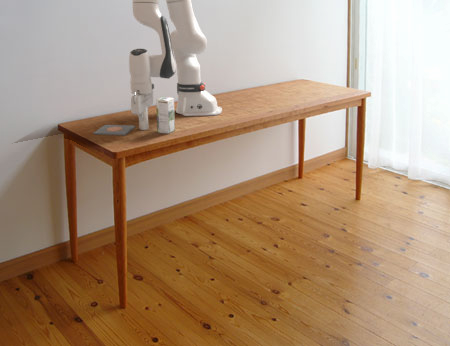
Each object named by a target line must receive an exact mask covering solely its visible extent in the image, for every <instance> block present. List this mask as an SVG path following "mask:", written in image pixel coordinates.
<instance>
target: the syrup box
mask: <svg viewBox="0 0 450 346" xmlns="http://www.w3.org/2000/svg"><path fill="white" fill-rule="evenodd" d="M155 102H156V104H155V105H156V106H155V107H156V108H155V109H156V127H157V133H159V134H171V133H173V132H175V131H176V121H175V120H176V118H175V116H176V115H175V98H174V97H167V96H163V97H159V98H158V99H156V100H155Z"/></svg>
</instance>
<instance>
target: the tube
mask: <svg viewBox="0 0 450 346" xmlns="http://www.w3.org/2000/svg"><path fill="white" fill-rule="evenodd" d="M143 117H144V121H143V122H139V121H138V125H139V127H138V129H139V130H140V131H147V130H149V128H150V127H149V109H148V110H147V107H146V110H145V111H143Z"/></svg>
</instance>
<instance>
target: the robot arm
mask: <svg viewBox="0 0 450 346" xmlns="http://www.w3.org/2000/svg"><path fill="white" fill-rule="evenodd" d="M159 2H160V1H159V0H132V14H133V17H134V19H135V20H136V21H137V22H138V23H139V24H142V25H143V26H145V27H147V28H150V29H153V30H154V31H155V32H156V33H157V35H158V36H159V42H160V47H161V49H160V50H161V54H149V51H148V50H147V49H145V48H136V49H135V48H134V49H133V50H131V51H130V53H129V57H128V63H129V64H128V67H129V68H128V69H129V73H130V81H129V82H130V93H131V94H133V95H132V96H131V98H130V112H131V115H133V116H136V115H137V117H138V123H139V122H143V121H144V117H143V111H145V110H146V107H147V110H148V111H149V108H150V107H151V106H152V105H153V104H154V89H155V84H154V83H152V79H151V78H160V79H167V80H168V79H171V77H173V76H174V75H175V74H176V72H177V74H176V75H177V83H176V92H177V105H176V109H175V113H177V114H178V115H179V114H180V115H182V116H184V117H193V116H195V117H196V116H201V117H202V116H218V115H219V114H221V113H222V112H223V108H222V107H221V106H218V102H217V98H216V97H215V96H214V95H212V93H210V92H209V91H207V90H206V82H204V83H203V82H202V79H201V78H202V77H201V64H200V63H199V60H198V58H197V55H201V54H204V52H205V51H206V50H207V48H208V39H207V37H206V35H205V34H204V33H203V32H202V29H201V27H200V25H199V23H198V20H197V18H196V15H195V13H194V9H193V4H192V0H165V2H166V5H167V11H168V14H169V19H170V21H171V22H172V24H173V26H174V27H175V29H174V30H172V31H171V32H170V29H169V25H168V21H167V18H166V17H165V16H164V15H162V12H161V11H160V8H159V4H160V3H159Z"/></svg>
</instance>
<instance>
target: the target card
mask: <svg viewBox="0 0 450 346" xmlns="http://www.w3.org/2000/svg"><path fill="white" fill-rule="evenodd" d="M135 128H136V126H135V125H128V124H126V125H125V124H123V125H121V124H118V125H117V124H104V125H103V126H101V127H100V128H98V129H97V130H95V131H94V132H93V135H107V136H112V135H113V136H126V135H127V134H128V133H130V132H131V131H132V130H134V129H135Z"/></svg>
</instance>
